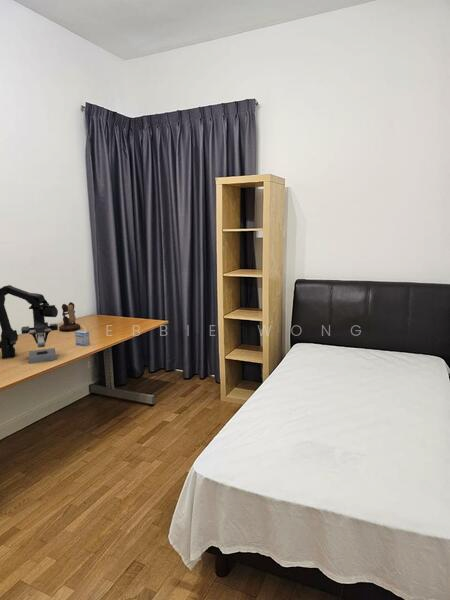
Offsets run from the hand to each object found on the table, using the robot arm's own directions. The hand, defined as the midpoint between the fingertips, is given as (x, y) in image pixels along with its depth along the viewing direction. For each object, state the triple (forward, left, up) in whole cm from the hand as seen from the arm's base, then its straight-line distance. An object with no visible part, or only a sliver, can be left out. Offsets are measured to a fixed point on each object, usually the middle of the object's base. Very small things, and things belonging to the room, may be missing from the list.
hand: (41, 343), depth 225 cm
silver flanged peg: (0, 0, -2) cm, 2 cm away
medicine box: (+24, +17, -9) cm, 31 cm away
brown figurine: (+20, +62, -9) cm, 66 cm away
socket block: (0, 0, -9) cm, 9 cm away
